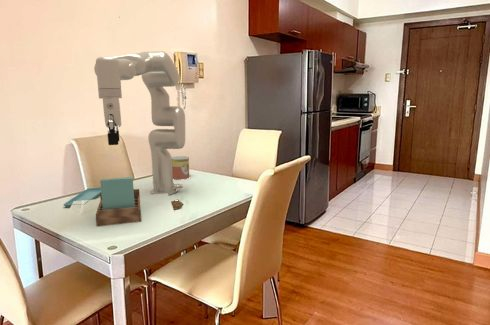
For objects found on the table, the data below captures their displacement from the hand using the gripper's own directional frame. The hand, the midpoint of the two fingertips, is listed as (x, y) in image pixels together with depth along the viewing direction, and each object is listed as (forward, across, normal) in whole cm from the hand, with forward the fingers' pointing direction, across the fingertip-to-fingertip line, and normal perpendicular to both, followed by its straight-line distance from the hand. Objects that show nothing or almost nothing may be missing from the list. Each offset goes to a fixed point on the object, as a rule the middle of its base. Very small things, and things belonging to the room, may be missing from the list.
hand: (114, 143), depth 123 cm
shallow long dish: (+32, +40, +16) cm, 53 cm away
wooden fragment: (+31, +14, -19) cm, 39 cm away
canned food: (+32, +71, -31) cm, 83 cm away
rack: (+31, +6, 0) cm, 31 cm away
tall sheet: (+29, 0, 0) cm, 29 cm away
